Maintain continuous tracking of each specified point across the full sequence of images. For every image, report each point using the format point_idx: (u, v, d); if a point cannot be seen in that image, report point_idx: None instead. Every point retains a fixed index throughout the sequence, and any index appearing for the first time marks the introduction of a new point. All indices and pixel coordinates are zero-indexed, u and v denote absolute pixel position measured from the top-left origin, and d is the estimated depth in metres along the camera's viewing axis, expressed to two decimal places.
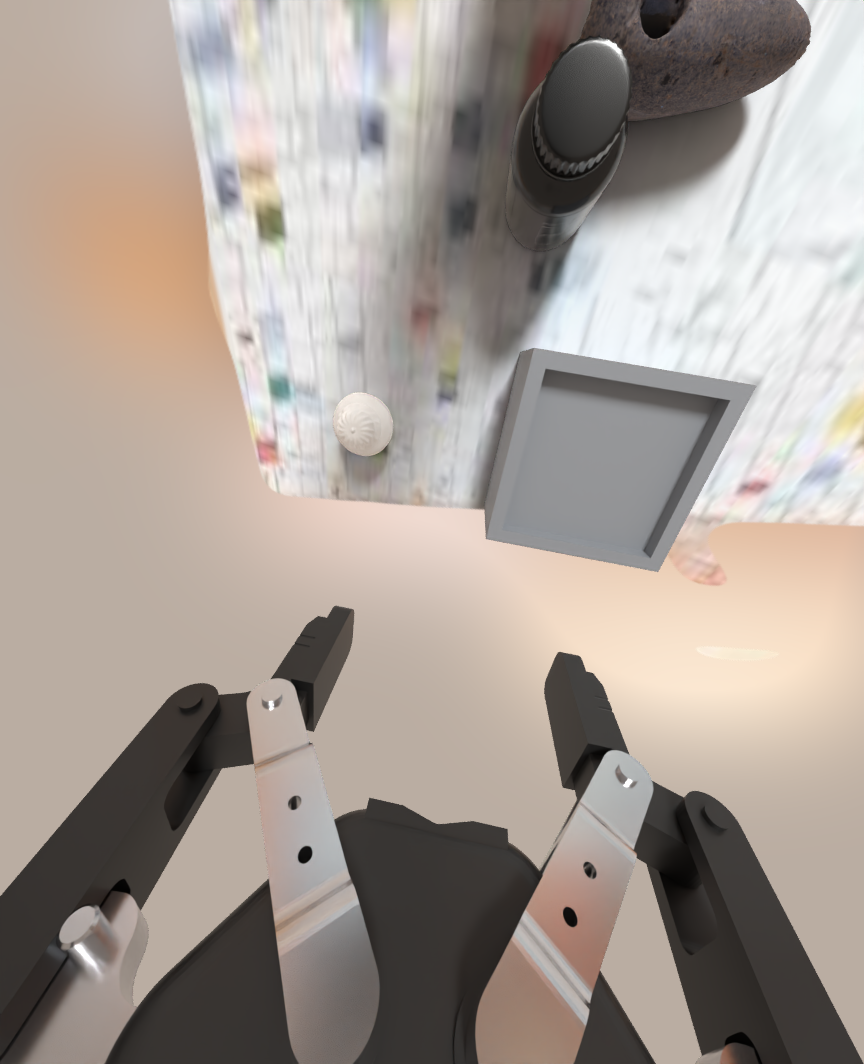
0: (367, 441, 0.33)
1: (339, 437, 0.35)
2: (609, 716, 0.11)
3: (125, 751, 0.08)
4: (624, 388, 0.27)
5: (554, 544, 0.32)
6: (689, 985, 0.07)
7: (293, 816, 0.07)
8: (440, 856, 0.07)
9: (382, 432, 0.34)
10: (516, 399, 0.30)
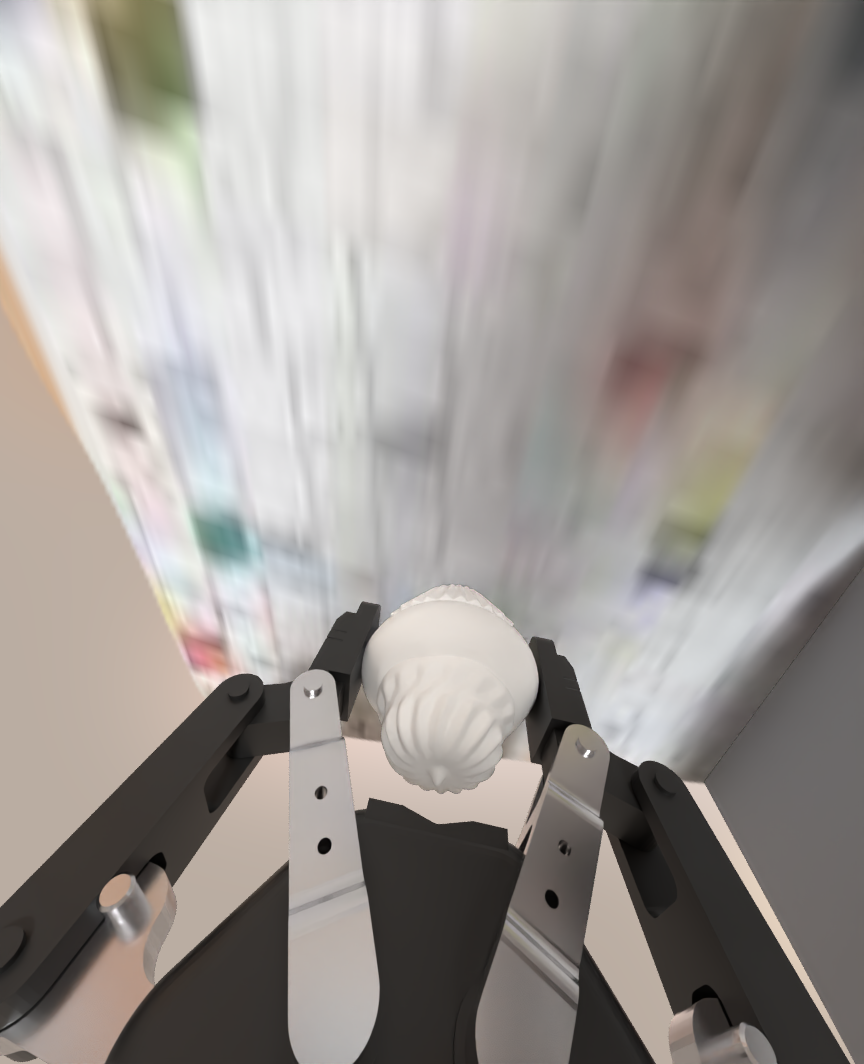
0: None
1: None
2: (576, 695, 0.12)
3: (178, 729, 0.08)
4: None
5: None
6: (656, 946, 0.08)
7: (318, 805, 0.07)
8: (440, 856, 0.07)
9: (515, 724, 0.11)
10: None
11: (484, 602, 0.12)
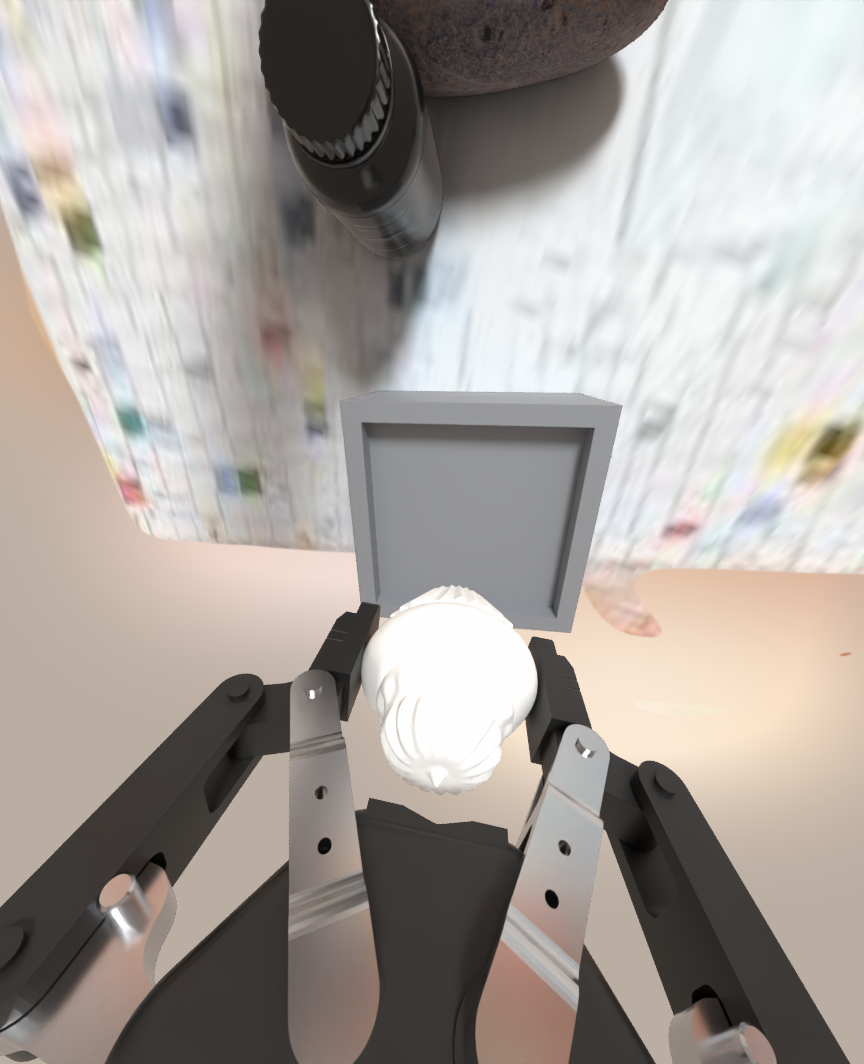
0: None
1: None
2: (576, 695, 0.12)
3: (178, 729, 0.08)
4: (469, 428, 0.22)
5: None
6: (656, 946, 0.08)
7: (318, 805, 0.07)
8: (440, 856, 0.07)
9: (514, 725, 0.11)
10: None
11: (483, 603, 0.12)
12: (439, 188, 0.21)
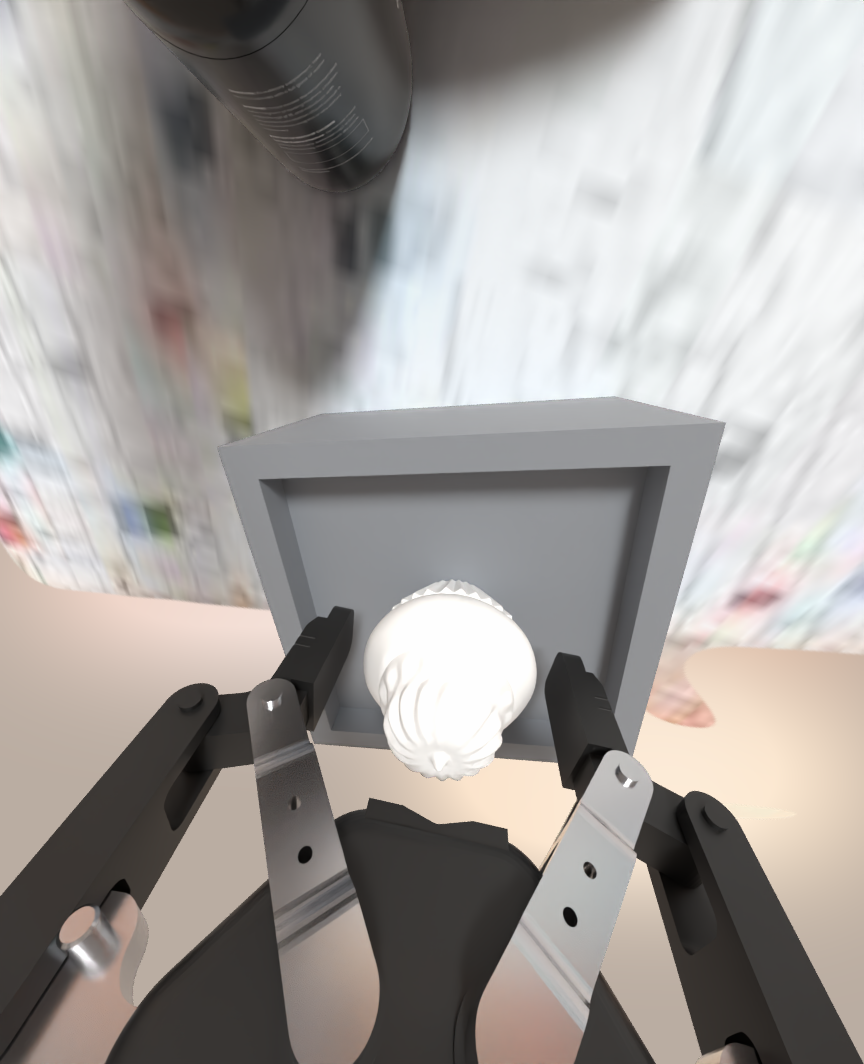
0: None
1: None
2: (609, 716, 0.11)
3: (125, 751, 0.08)
4: (444, 473, 0.13)
5: None
6: (690, 985, 0.07)
7: (293, 816, 0.07)
8: (440, 856, 0.07)
9: (514, 713, 0.11)
10: None
11: (483, 595, 0.13)
12: (403, 51, 0.12)
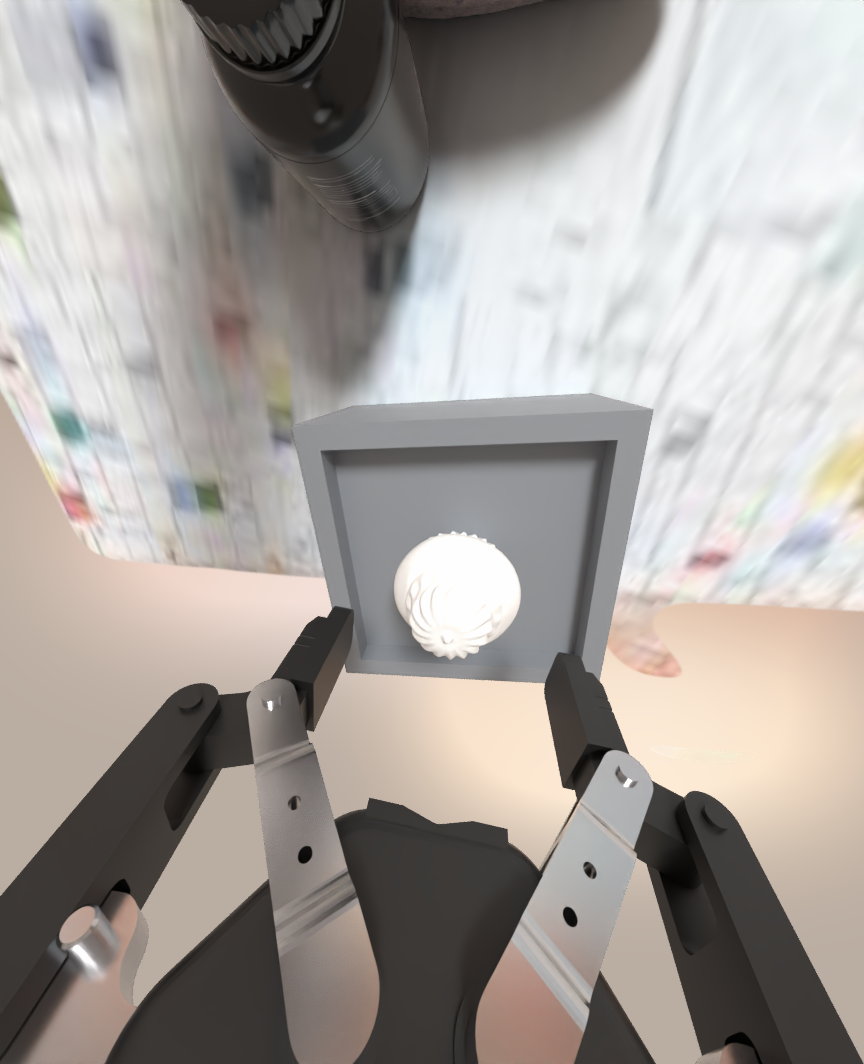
0: (477, 651, 0.15)
1: (408, 621, 0.17)
2: (609, 716, 0.11)
3: (125, 751, 0.08)
4: (457, 448, 0.17)
5: (437, 668, 0.22)
6: (689, 985, 0.07)
7: (293, 816, 0.07)
8: (440, 856, 0.07)
9: (503, 618, 0.16)
10: None
11: (481, 538, 0.17)
12: (424, 137, 0.17)
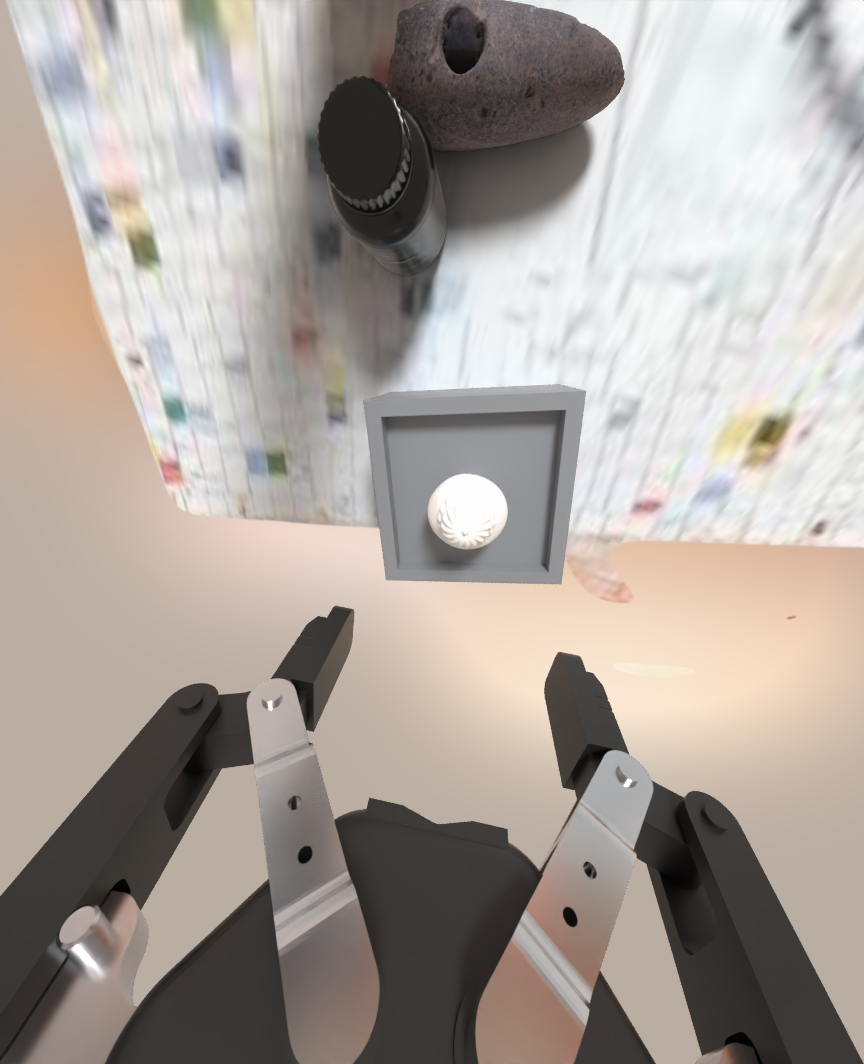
0: (482, 541, 0.25)
1: (438, 532, 0.27)
2: (609, 716, 0.11)
3: (125, 751, 0.08)
4: (467, 416, 0.27)
5: (451, 574, 0.32)
6: (689, 985, 0.07)
7: (293, 816, 0.07)
8: (440, 856, 0.07)
9: (497, 524, 0.26)
10: None
11: None
12: (444, 221, 0.26)
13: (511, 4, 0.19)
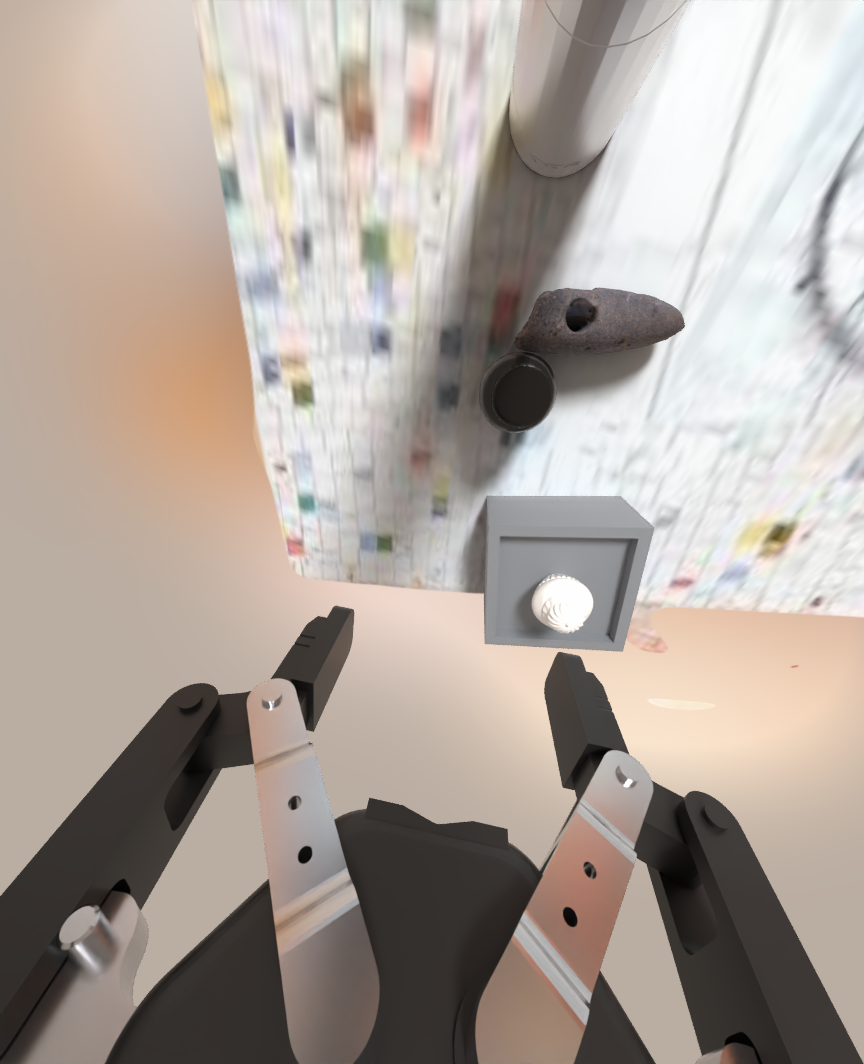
0: (578, 629, 0.35)
1: (540, 618, 0.37)
2: (609, 716, 0.11)
3: (125, 751, 0.08)
4: None
5: (537, 641, 0.42)
6: (689, 985, 0.07)
7: (293, 816, 0.07)
8: (440, 856, 0.07)
9: (587, 614, 0.35)
10: None
11: (571, 577, 0.37)
12: None
13: (614, 296, 0.29)
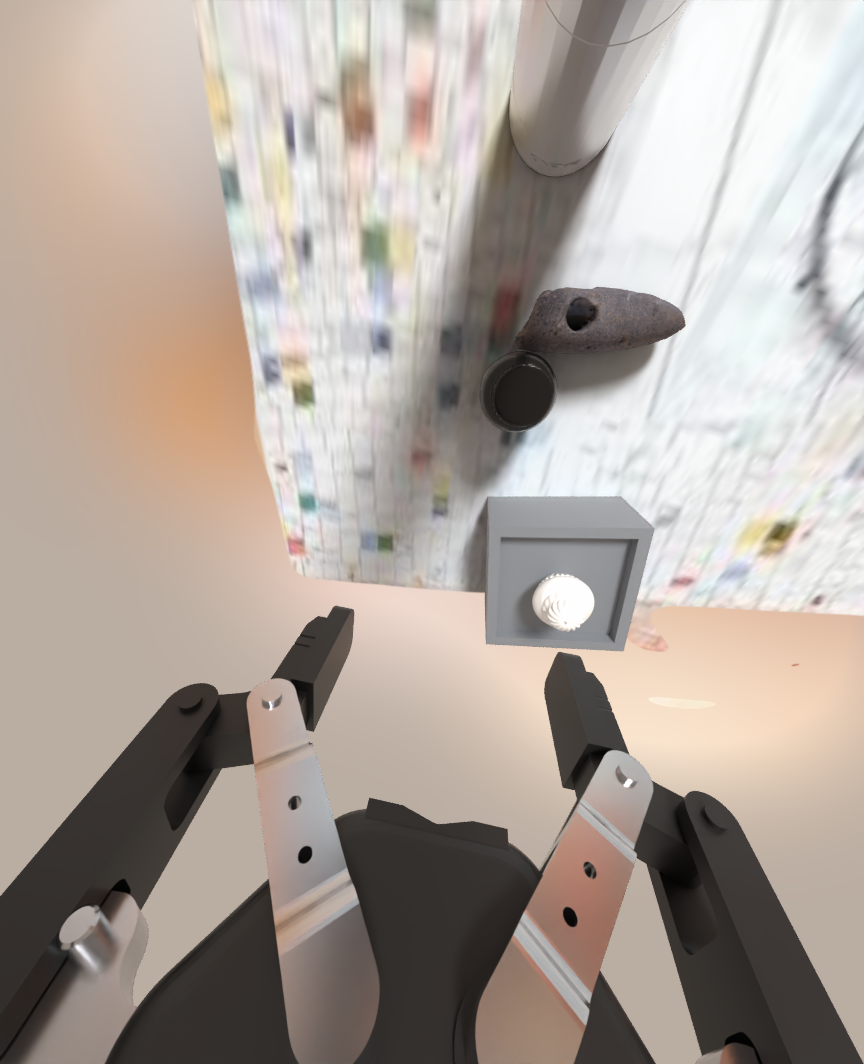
0: (579, 626, 0.34)
1: (542, 617, 0.37)
2: (609, 716, 0.11)
3: (125, 751, 0.08)
4: None
5: (538, 641, 0.42)
6: (689, 985, 0.07)
7: (293, 816, 0.07)
8: (440, 856, 0.07)
9: (588, 611, 0.35)
10: None
11: (570, 575, 0.37)
12: None
13: (614, 295, 0.29)
